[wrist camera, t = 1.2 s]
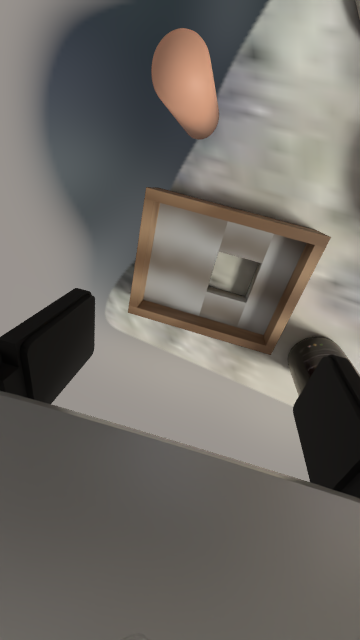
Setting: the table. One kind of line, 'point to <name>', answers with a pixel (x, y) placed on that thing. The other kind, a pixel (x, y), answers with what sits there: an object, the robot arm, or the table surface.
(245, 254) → the wooden rectangular frame
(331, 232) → the table surface
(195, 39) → the peg
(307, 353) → the supplement bottle
